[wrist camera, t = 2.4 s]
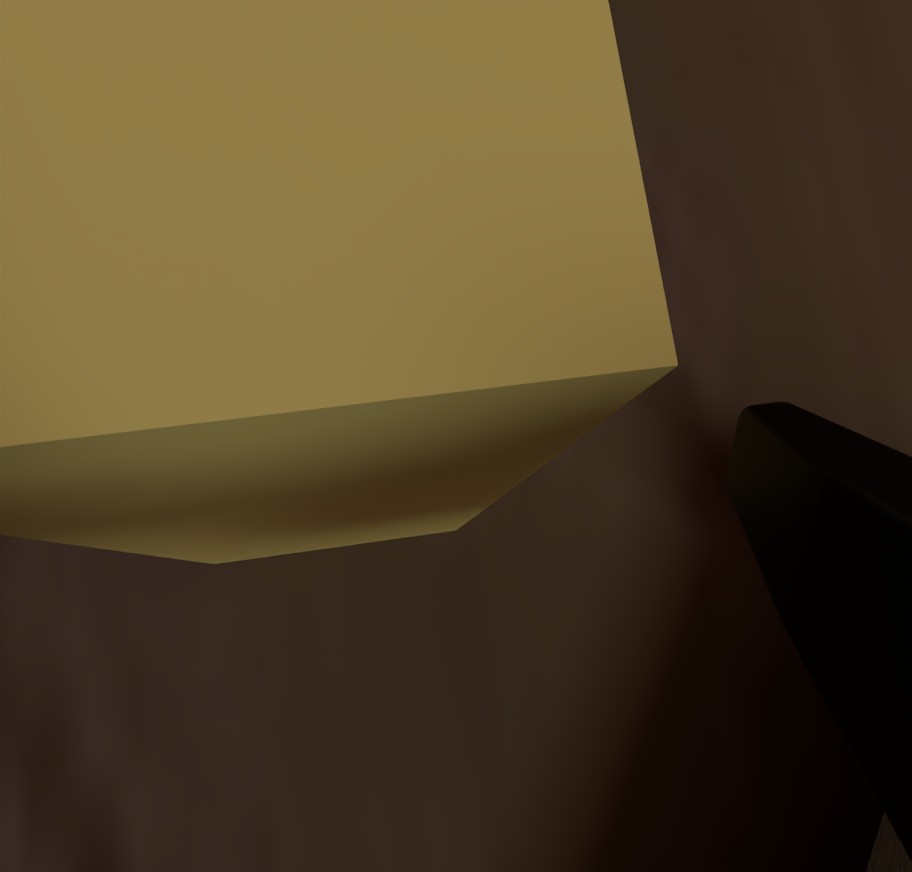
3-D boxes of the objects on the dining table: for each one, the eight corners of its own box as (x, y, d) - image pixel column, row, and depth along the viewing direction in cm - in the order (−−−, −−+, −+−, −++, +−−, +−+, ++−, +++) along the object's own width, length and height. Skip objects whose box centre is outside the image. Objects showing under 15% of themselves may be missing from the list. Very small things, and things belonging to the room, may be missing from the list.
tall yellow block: (456, 530, 18) (678, 364, 4) (214, 564, 17) (-341, 487, 4) (423, 304, 19) (532, -398, 5) (192, 330, 18) (-331, -383, 5)
